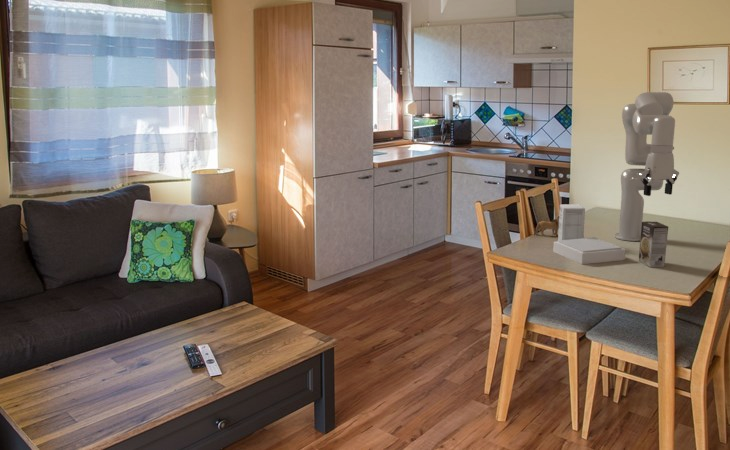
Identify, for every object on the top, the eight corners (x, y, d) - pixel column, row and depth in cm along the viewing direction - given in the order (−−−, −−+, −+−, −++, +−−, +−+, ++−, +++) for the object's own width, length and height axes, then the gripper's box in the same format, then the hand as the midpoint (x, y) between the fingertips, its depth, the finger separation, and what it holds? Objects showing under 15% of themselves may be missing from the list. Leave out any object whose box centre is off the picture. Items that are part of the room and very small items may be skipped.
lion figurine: (559, 233, 312) (561, 214, 310) (565, 235, 307) (566, 216, 305) (531, 234, 309) (532, 215, 307) (536, 237, 304) (537, 218, 302)
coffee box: (637, 261, 264) (641, 221, 260) (653, 260, 264) (656, 220, 261) (649, 267, 255) (652, 226, 251) (665, 266, 255) (669, 226, 252)
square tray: (593, 248, 284) (594, 236, 283) (624, 259, 265) (625, 247, 264) (553, 251, 278) (553, 240, 277) (581, 264, 260) (582, 251, 259)
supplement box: (579, 241, 296) (581, 204, 292) (583, 246, 287) (586, 208, 283) (557, 240, 297) (559, 203, 293) (561, 245, 288) (563, 207, 284)
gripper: (673, 148, 256) (669, 192, 259) (635, 149, 251) (632, 194, 255) (687, 150, 249) (683, 195, 252) (649, 151, 244) (645, 197, 247)
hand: (657, 194), depth 253 cm, fingers open, 9 cm apart
